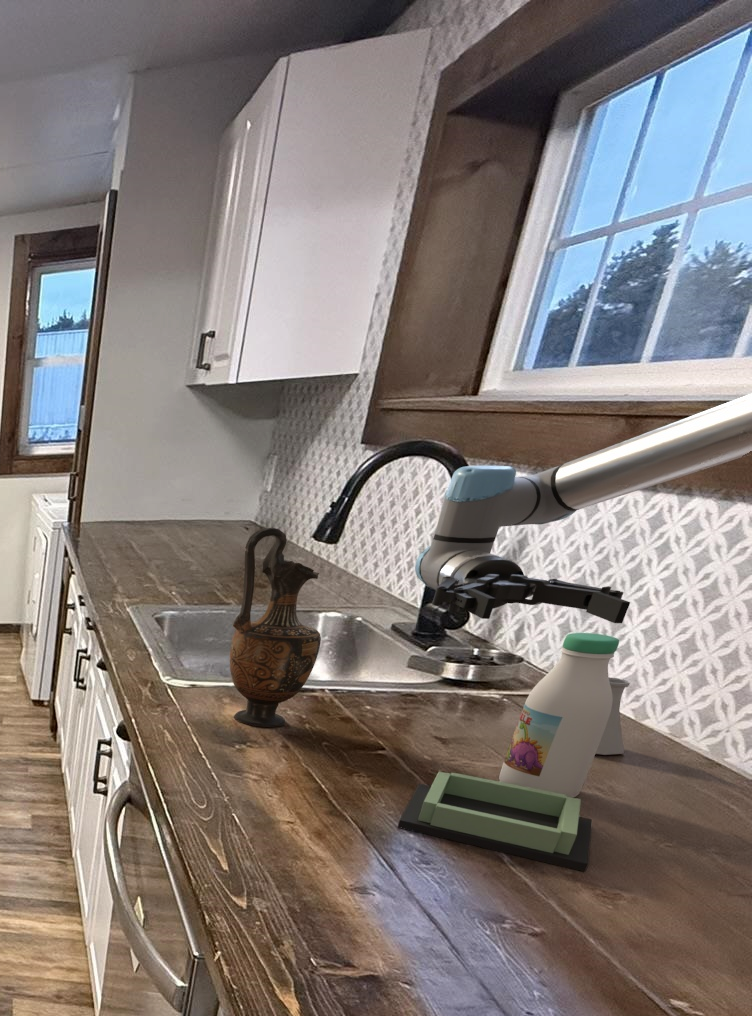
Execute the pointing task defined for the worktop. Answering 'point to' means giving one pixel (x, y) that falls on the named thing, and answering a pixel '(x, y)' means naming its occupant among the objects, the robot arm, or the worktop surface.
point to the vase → (272, 637)
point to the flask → (613, 722)
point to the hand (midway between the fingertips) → (554, 610)
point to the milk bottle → (563, 719)
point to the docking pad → (502, 818)
